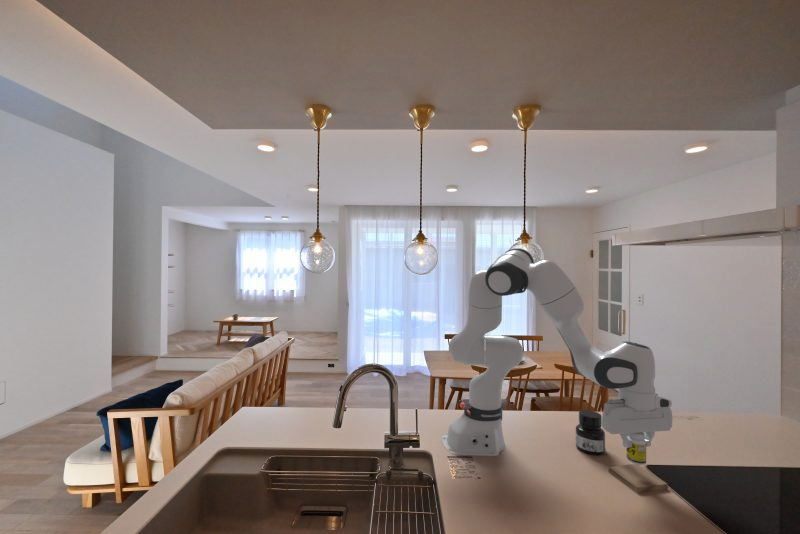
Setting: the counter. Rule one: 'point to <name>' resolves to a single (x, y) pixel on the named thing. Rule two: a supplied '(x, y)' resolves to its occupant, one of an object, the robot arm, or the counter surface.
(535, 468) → the counter surface
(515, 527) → the counter surface
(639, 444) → the supplement bottle
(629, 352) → the robot arm
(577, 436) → the ink bottle
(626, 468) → the tan slab
